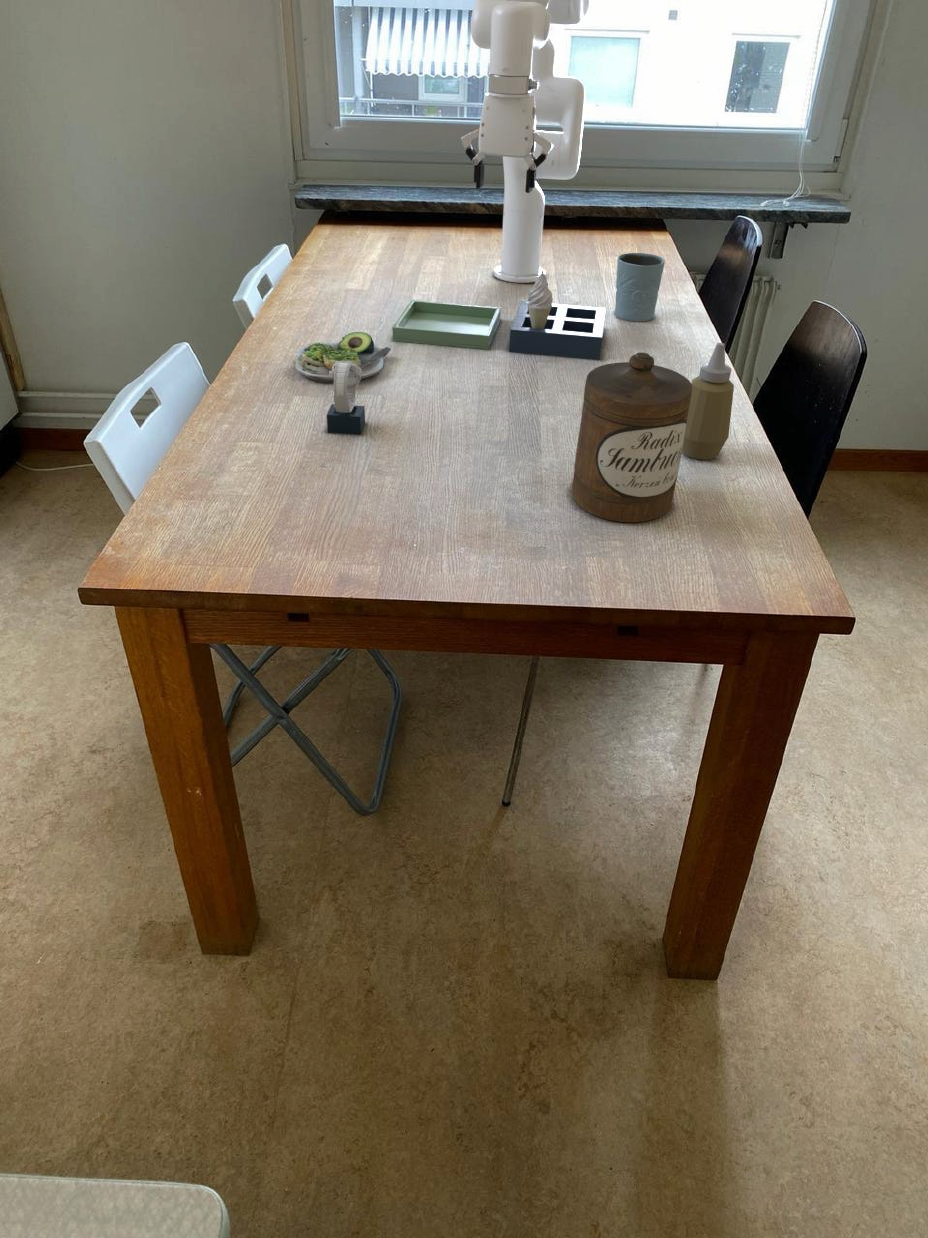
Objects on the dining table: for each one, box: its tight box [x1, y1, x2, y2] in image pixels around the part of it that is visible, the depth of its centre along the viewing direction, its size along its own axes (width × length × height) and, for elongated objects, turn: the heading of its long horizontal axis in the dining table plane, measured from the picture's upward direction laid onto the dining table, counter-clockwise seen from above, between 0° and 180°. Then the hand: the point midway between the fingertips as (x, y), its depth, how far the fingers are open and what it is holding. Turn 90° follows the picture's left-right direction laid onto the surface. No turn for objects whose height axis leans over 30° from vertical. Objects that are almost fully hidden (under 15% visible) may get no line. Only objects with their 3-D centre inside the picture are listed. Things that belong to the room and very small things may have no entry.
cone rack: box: [508, 300, 607, 361], centre depth 187 cm, size 18×18×4 cm
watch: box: [326, 361, 366, 435], centre depth 149 cm, size 6×8×11 cm
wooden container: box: [571, 351, 692, 523], centre depth 130 cm, size 15×15×22 cm
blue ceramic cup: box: [614, 252, 666, 323], centre depth 199 cm, size 10×10×12 cm
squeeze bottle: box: [682, 342, 735, 461], centre depth 144 cm, size 8×8×18 cm
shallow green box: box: [392, 299, 502, 350], centre depth 191 cm, size 18×20×3 cm
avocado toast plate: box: [294, 331, 392, 384], centre depth 171 cm, size 19×18×5 cm
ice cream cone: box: [527, 268, 554, 329], centre depth 182 cm, size 5×5×15 cm
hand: (504, 189), depth 175 cm, fingers open, 9 cm apart
